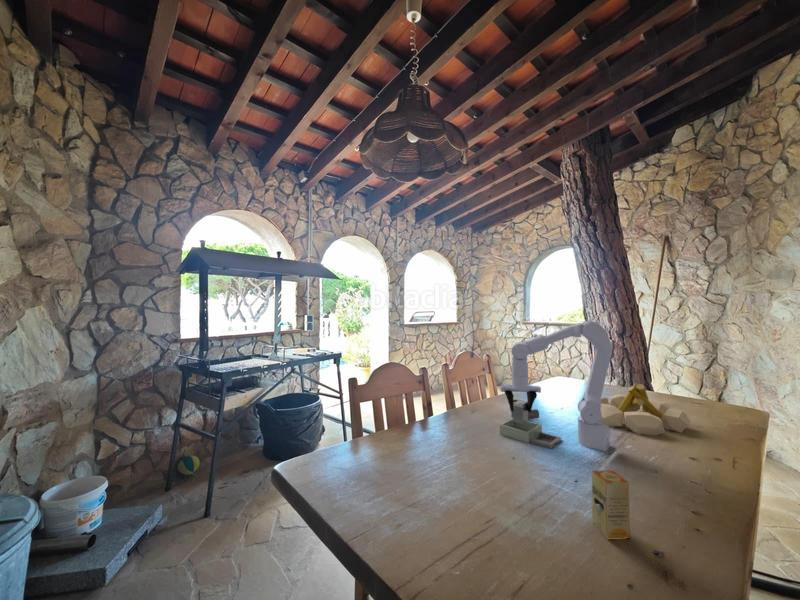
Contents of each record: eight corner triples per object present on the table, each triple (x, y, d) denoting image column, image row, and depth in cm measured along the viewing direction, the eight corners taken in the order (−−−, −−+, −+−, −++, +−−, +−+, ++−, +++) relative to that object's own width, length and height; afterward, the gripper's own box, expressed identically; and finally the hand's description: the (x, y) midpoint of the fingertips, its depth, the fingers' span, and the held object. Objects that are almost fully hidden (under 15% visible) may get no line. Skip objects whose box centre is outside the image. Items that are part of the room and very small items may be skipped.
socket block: (563, 443, 118) (563, 437, 118) (552, 452, 111) (552, 445, 111) (535, 435, 126) (535, 430, 126) (523, 443, 119) (523, 437, 119)
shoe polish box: (613, 523, 75) (612, 470, 75) (629, 539, 70) (628, 482, 70) (592, 524, 75) (591, 471, 75) (607, 539, 70) (606, 482, 70)
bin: (541, 436, 124) (541, 424, 125) (528, 445, 117) (528, 432, 117) (513, 429, 132) (513, 417, 133) (499, 436, 125) (499, 424, 125)
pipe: (540, 421, 141) (540, 402, 141) (510, 421, 141) (510, 402, 141) (535, 416, 147) (535, 398, 147) (506, 416, 147) (506, 398, 148)
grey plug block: (528, 420, 125) (527, 401, 125) (523, 424, 121) (522, 404, 121) (518, 418, 127) (518, 400, 127) (513, 421, 124) (513, 403, 124)
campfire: (640, 441, 120) (639, 395, 121) (569, 412, 153) (569, 376, 153) (708, 431, 130) (708, 388, 130) (628, 406, 162) (627, 371, 163)
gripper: (536, 373, 128) (537, 408, 128) (498, 372, 130) (498, 407, 129) (542, 376, 121) (543, 414, 121) (502, 376, 123) (502, 412, 122)
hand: (520, 410), depth 125 cm, fingers closed on grey plug block, 6 cm apart
